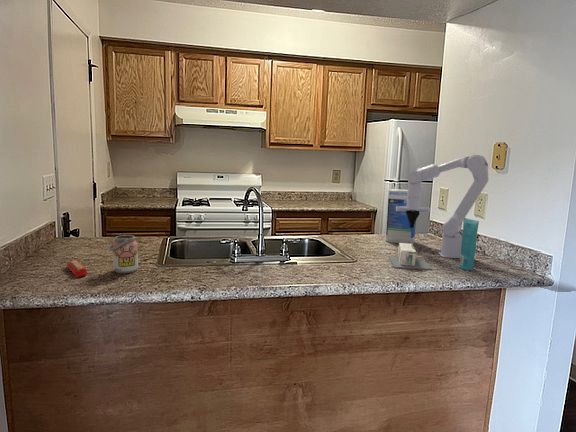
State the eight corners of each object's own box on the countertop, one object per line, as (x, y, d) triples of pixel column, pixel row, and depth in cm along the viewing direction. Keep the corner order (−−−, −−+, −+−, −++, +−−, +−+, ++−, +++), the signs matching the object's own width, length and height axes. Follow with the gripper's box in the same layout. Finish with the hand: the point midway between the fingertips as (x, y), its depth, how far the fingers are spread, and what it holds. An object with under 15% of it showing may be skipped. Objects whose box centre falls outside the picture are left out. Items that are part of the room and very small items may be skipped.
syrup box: (411, 256, 169) (415, 266, 155) (397, 255, 170) (399, 264, 156) (412, 243, 168) (417, 251, 154) (398, 242, 169) (401, 250, 155)
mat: (422, 259, 168) (422, 257, 168) (432, 270, 152) (432, 268, 152) (388, 257, 169) (388, 256, 169) (394, 268, 153) (394, 266, 153)
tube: (478, 270, 153) (483, 220, 150) (469, 271, 151) (474, 221, 148) (462, 265, 160) (467, 217, 157) (453, 266, 158) (458, 218, 155)
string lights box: (414, 242, 200) (418, 190, 196) (412, 245, 193) (416, 191, 189) (387, 239, 206) (391, 188, 202) (384, 241, 199) (388, 189, 195)
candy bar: (66, 267, 144) (65, 259, 143) (77, 266, 146) (77, 258, 146) (76, 279, 131) (76, 270, 131) (88, 277, 134) (88, 268, 133)
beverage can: (110, 275, 136) (109, 240, 134) (109, 268, 143) (107, 235, 141) (140, 272, 140) (138, 238, 138) (136, 266, 147) (135, 233, 145)
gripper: (428, 197, 183) (425, 226, 185) (395, 195, 184) (393, 225, 186) (432, 198, 176) (429, 229, 178) (398, 197, 177) (396, 228, 179)
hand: (411, 227), depth 182 cm, fingers closed
